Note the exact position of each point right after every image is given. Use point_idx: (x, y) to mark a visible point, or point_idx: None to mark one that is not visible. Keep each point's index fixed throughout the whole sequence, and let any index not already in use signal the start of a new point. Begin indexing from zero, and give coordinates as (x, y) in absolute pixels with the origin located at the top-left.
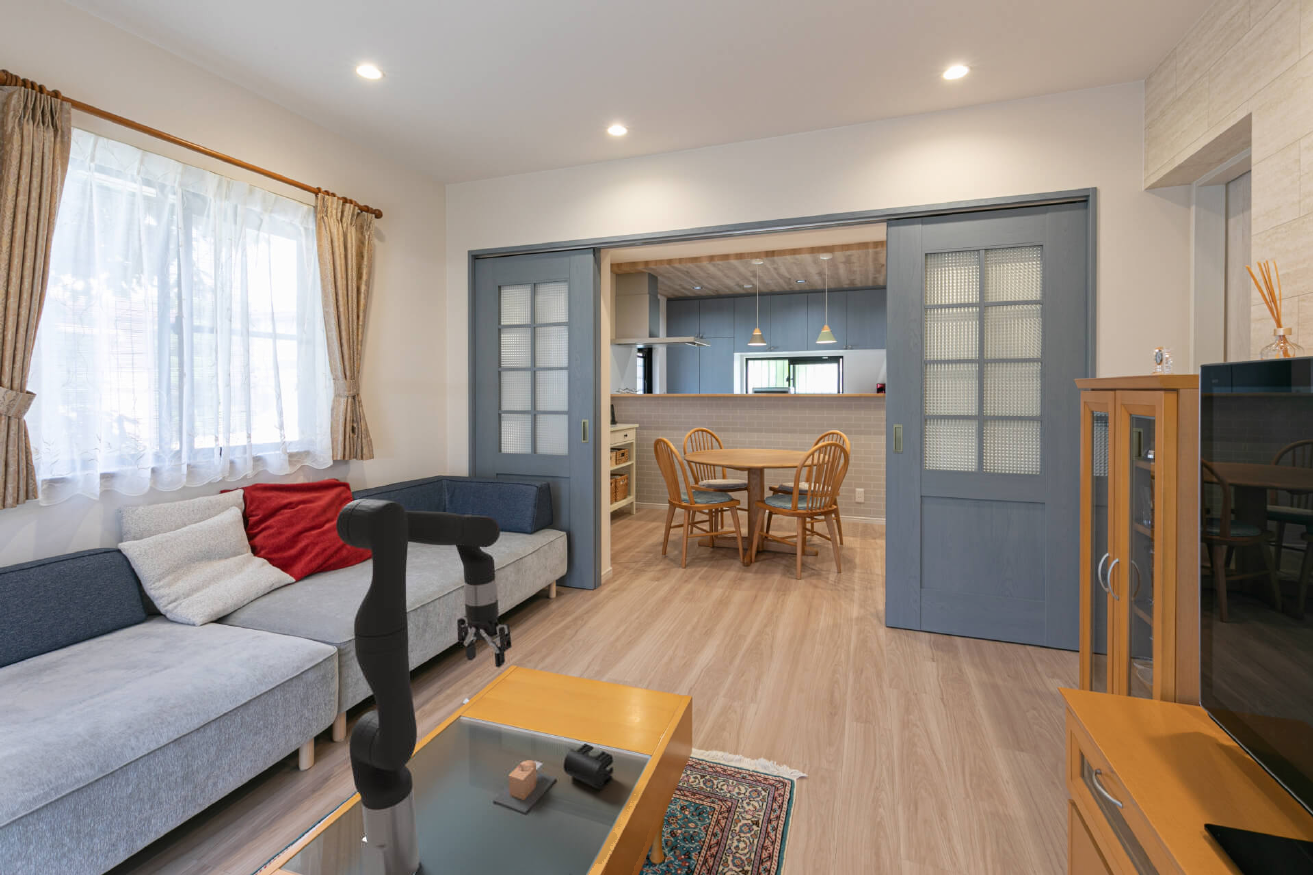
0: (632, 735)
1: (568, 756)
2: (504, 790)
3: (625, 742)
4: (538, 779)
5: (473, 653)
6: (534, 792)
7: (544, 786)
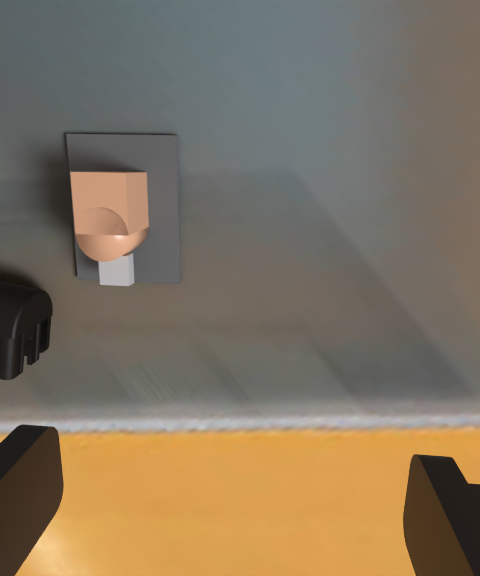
0: None
1: (10, 311)
2: (172, 181)
3: None
4: None
5: (422, 549)
6: None
7: None
